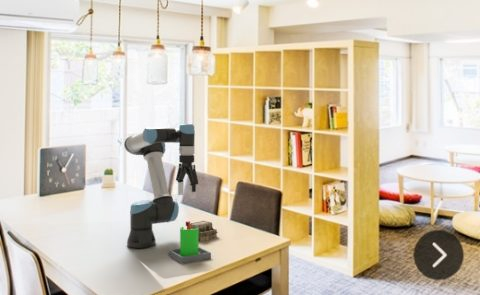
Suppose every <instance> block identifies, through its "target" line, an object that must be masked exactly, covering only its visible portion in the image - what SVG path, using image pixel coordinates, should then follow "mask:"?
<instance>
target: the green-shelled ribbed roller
mask: <svg viewBox="0 0 480 295" xmlns="http://www.w3.org/2000/svg"><path fill="white" fill-rule="evenodd" d="M190 223H191V221H189V220H187V221H185V227H186V229H185V228H184V226H182V227H180V228H179V230H180V231H179V236H180V237H179V238H180V239H179V244H180V245H179V248H180V256H182V257H185V256H191V255H197V254H198V253H199V252H198V247H199V240H198V228H196V229H191V226H190Z"/></svg>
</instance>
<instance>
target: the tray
mask: <svg viewBox="0 0 480 295" xmlns="http://www.w3.org/2000/svg"><path fill="white" fill-rule="evenodd" d="M168 256H169V257H170V258H172V259H173V260H175V261H176V262H178V263H179V264H181V265H183V264H189V263H194V262H200V261H206V260H211V259H212V252H210V251H208V250H207V249H204V248H202V247H200V246H198V254H197V255H191V256H185V257H182V256H180V247H179V248H173V249H168Z"/></svg>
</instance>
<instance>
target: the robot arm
mask: <svg viewBox="0 0 480 295" xmlns="http://www.w3.org/2000/svg"><path fill="white" fill-rule="evenodd" d="M166 143H167V144H169V143H173V144H174V143H175V144H178V143H179V148H178V150H179V157H178V160H179V163H178V168H177V173H176V178H175V181H177V195H178V196H184V188H185V187H184V186H185V185H184V179H185V176H186V175H187V177H188V179H189V182H190V184H189V199H190V200H191V199H192V200H193V199H197V198H196V196H197V193H196V192H197V191H196V190H197V189H196V188H197V185H199V179H198V176H197V170H196V165H195V164H193V163H195V155H194V154H195V125H194V124H193V123H192V124H191V123H181V124H179V127H144V129H143V131H142V132H141V133H139V134H136V135H135V134H131V135H130V136H128V137H127V138H125V141H124V149H125V151H126V152H128V153H129V154H131V155H135V156H143V160H145V161H146V163H147V167H148V173H149V177H150V178H149V179H150V183H151V187H152V192H153V199H152V200H151V199H148V200H139V201H136V202H134V203H132V204H131V205H130V211H129V214H130V215H129V216H130V218H129V220H130V226H129V227H130V231H129V235H128V237H127V241H126V245H127V247H129V248H136V249H138V248H149V247H152V246H154V245H156V236H155V233H154V231H153V224H154V225H155V224H162V223H163V224H164V223H170V222H171V223H172V222H174V221H176V220H177V218H178V216H179V212H180V211H179V210H180V208H179V203H178V202H177V201H176V200H174V199H173V195H170V193H169V186H168V183H167V178H166V173H165V168H164V165H163V159H162V158H163V157H164V154H165V153H166Z"/></svg>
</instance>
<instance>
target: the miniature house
mask: <svg viewBox="0 0 480 295" xmlns="http://www.w3.org/2000/svg"><path fill="white" fill-rule="evenodd" d="M190 226H191V229H196V228H198V242H200V243H202V242H208V241H210V240H211V239H216V238H217V237H218V236H217V234H218V232H219V231H218V230H217V229H215V228H214V227H213V222H211V221H208V220H207V221H205V220H201V221H195V222H190Z"/></svg>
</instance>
